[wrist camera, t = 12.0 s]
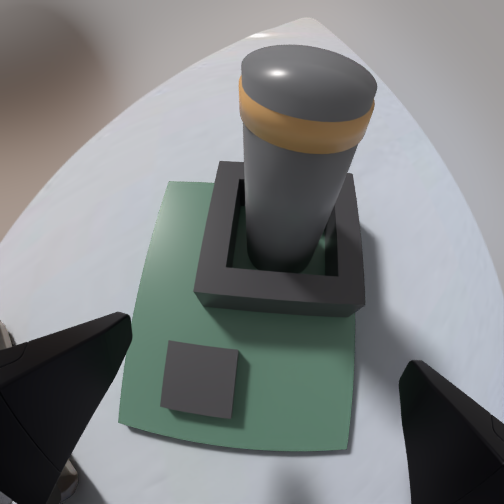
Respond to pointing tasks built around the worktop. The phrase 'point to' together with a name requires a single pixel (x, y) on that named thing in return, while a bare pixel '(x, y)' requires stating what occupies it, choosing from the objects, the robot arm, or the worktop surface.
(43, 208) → the worktop surface
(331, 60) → the plug
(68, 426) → the robot arm
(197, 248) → the header board
